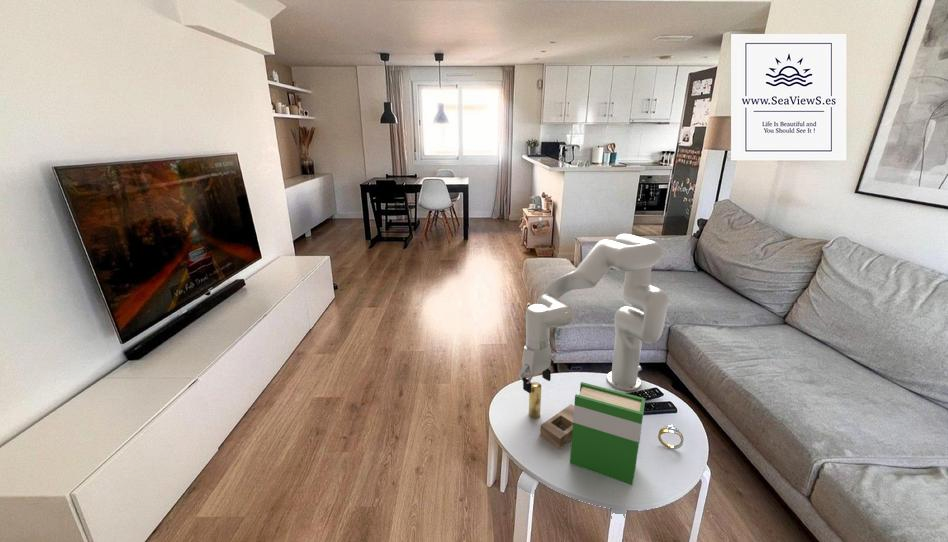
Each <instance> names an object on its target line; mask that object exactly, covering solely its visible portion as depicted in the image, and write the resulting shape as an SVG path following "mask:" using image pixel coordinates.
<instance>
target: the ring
mask: <svg viewBox="0 0 948 542" xmlns="http://www.w3.org/2000/svg"><path fill="white" fill-rule="evenodd" d="M667 433H672V434H675V435H677V436H679V438H680V442H679V443H678V444H676V445H671V444H670V443H666V442H665V441H664V440H663V439H662V437H661V436H662V435H664V434H667ZM657 434H658V435H657V439H658V441H659V442H660V443H661V445H663V446H664V447H666V448H667V449H668V450H670V449H671V450H677V449H680V448H681V447H682V446H683V445H684V440H685V439H684V438H685V437H684V436H683V433H682V432H681V431H680V429H678V427H676V426H675V425H673V424H671V425H665V426H663V427H661V428H660V429H659V432H658V433H657Z"/></svg>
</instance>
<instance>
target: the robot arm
mask: <svg viewBox="0 0 948 542" xmlns="http://www.w3.org/2000/svg"><path fill="white" fill-rule="evenodd" d="M662 256H663V248H662V246H661V244H659V242H657V241H654V240H651V239H648V238H644V237H642V236H641V237H640V236H637V235H634V234H630V233H621V234H618V235H616V237H615V238H614V240H611V239H601V240H599V241H597V242H596V244H595V245H594V246H593V248H591V250H590V251H589V252H588V253H587V255H586V256H585V257H584V258H583V259H582V261H581V262H579V264H578V265H577V267H576V268H574V270H573V271H571V272H568V273H566V274H563V275H562V276H560V277H558V278H555V280H553V281H551V282H550V283H549V284H548V285H547V286H546V287H545V289H544V290H543V291H542V292H541V294H540V295H539V297H538V298H537V300H536V302H535V303H533V304H531V305H528V307H526V310H525V345H524V347H523V353H522V358H521V359H522V360H521V369H520V370H519V372H518V373H517V376H518V378H519V380H521V381H522V386H523V387H522V388H523V391H525V392H527V393H531V383H532V382H531V381H532V380H533V377H536V376H538V375H540V374H541V373H542V375H541V377H542V378H543V379H544V380H546V381H547V382H550V381H551V380H552V379H551V376H552V374H551V372H552V369H553V365H554V361H555V358H556V355H555V354H553V353H552V350H551V344H550V328H559V327H561V328H562V327H565V326H568V325H570V324H571V323H572V322H573V321H574V320H575V318H576V317H575V316H576V313H575V312H576V311H575V310H574V309H573V307H572V306H571V305H569V304H568V303H566V302H564V301H563V300H561V299H560V298H561V297H563V296H565V295H566V293H568V292H572V291H574V290H585V289H591V288H595V287H596V286H597V285H598V284H599V282H601V280H602V279H603V277H604V276H605V275H606V274H607V272H608V271H609V270H610V269H613V270H617V271H619V272H624V273H625V274H624V281H623V288H622V300H623V301H624V302H625V303H626V304H627V305H624V306H621V307H620V308H618V310H616V312H615V314H614V329H615V330H614V331H615V337H614V347H613V357H612V365H611V371H610V372H608V373H607V375H606V381H607V383H608V384H609V385H610V386H611V387H613V388H615V389H618V390H621V391H624V392H625V391H627V392H629V391H631V392H632V391H636V390H638V389H639V388H640V387H641V383H642V382H641V378H640V377H639V376H638V375H639V372H640V371H642V369H643V368H642V367H641V365H640V358H641V350H642V342H644V343H646V344H654V343H656V342H657V341H659V340H660V338H661V336H662V334H663V332H664V327H665V322H666V317H667V311H668V305H669V299H668V295H667V293H666V292H665V291H664V290H663V289H662V288H659V287H657V286H654V285H652V284H651V279H652V278H651V277H652V267H653V266H654V265H656V264H657V263H659V261H660V260H661V258H662ZM527 376H528V378H527Z"/></svg>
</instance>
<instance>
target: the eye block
mask: <svg viewBox="0 0 948 542" xmlns="http://www.w3.org/2000/svg"><path fill="white" fill-rule="evenodd" d="M573 416H574V404H570V405H568V406H565V408H564V409H562V410H560V411H559V412H558V413H556V414H554V416H552V417H550V418H548V419H547V420H546V421H544V422H543V423H541V424H540V428H539V429H540V431H539V432H540V434H539V435H540V436H541V437H542V438H543V439H545V440H547V441H548V442H549V443H551V444H552V445H554V446H555V447H556V448H558V449H560V450H561V448H563V447H564V446H565V445H566V444H567V443H569V442H571V441H572V429H573ZM559 426H561V427H562V428H563V429H565V430H562V429H561V428H560V427H559Z"/></svg>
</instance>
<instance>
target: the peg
mask: <svg viewBox="0 0 948 542" xmlns="http://www.w3.org/2000/svg"><path fill="white" fill-rule="evenodd" d="M528 397H529V399H528V416H529V417H530V418H532V419H539V418H541V408H542V407H541V404H542V401H541V400H542V384H541V383H539V382H536V381H534V382H531V393H529V394H528Z"/></svg>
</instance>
